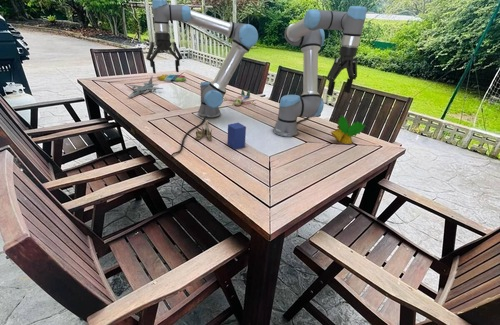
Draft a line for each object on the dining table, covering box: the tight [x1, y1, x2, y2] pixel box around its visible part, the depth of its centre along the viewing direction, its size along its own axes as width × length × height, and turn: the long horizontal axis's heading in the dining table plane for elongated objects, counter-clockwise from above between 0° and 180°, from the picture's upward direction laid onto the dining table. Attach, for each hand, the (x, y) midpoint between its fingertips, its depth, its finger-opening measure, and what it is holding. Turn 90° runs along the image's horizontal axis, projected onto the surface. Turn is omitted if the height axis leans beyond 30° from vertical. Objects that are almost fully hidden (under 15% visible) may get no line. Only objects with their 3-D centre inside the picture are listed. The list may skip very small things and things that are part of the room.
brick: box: [227, 122, 247, 150], centre depth 143 cm, size 7×7×12 cm
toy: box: [223, 89, 257, 106], centre depth 219 cm, size 28×7×30 cm
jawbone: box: [195, 119, 213, 141], centre depth 151 cm, size 9×15×10 cm
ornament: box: [330, 114, 367, 145], centre depth 158 cm, size 21×8×15 cm, turn 105°
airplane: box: [127, 75, 164, 99], centre depth 224 cm, size 38×31×10 cm
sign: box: [156, 74, 187, 83], centre depth 278 cm, size 26×2×30 cm
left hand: (166, 72), depth 153 cm, fingers open, 13 cm apart
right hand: (338, 93), depth 127 cm, fingers open, 13 cm apart
